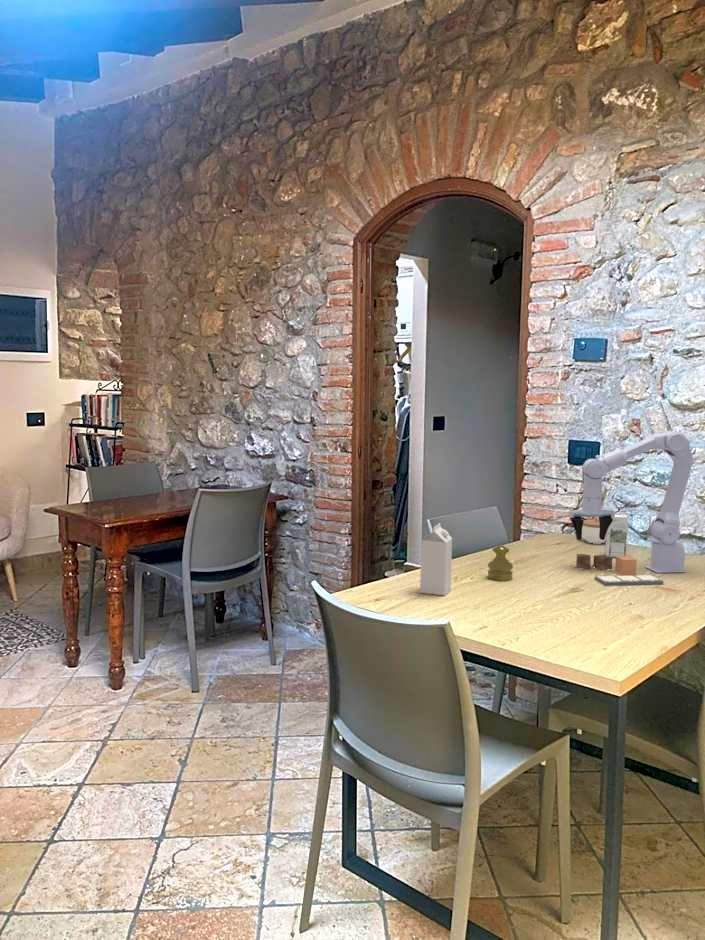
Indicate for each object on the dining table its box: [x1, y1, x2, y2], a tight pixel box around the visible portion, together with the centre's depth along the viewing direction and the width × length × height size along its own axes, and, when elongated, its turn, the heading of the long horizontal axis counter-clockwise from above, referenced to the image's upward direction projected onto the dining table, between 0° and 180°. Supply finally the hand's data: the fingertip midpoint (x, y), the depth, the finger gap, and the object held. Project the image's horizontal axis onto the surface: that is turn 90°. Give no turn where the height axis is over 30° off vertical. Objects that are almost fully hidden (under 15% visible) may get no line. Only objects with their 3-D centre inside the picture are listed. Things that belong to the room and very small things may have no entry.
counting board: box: [594, 574, 665, 587], centre depth 228 cm, size 18×7×1 cm, turn 97°
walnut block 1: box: [575, 553, 592, 570], centre depth 245 cm, size 4×4×4 cm
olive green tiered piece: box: [487, 544, 514, 582], centre depth 231 cm, size 7×7×10 cm
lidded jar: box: [582, 517, 606, 545], centre depth 284 cm, size 11×11×9 cm
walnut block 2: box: [592, 554, 613, 571], centre depth 244 cm, size 4×4×4 cm
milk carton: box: [419, 522, 453, 596], centre depth 214 cm, size 7×7×19 cm
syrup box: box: [604, 513, 629, 558], centre depth 261 cm, size 6×6×14 cm
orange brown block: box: [614, 555, 637, 576], centre depth 238 cm, size 4×4×5 cm
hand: (590, 539), depth 243 cm, fingers open, 7 cm apart
